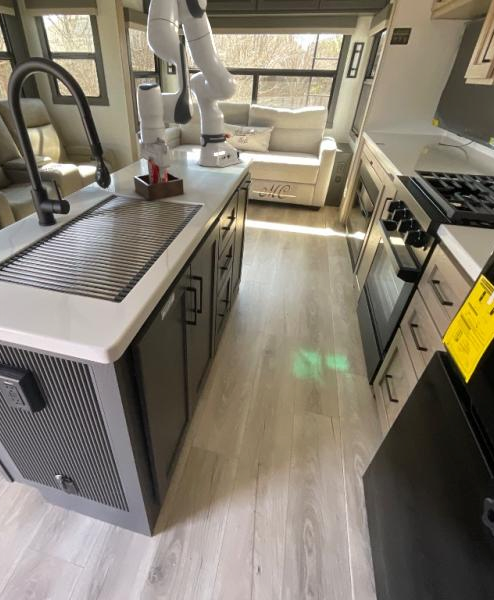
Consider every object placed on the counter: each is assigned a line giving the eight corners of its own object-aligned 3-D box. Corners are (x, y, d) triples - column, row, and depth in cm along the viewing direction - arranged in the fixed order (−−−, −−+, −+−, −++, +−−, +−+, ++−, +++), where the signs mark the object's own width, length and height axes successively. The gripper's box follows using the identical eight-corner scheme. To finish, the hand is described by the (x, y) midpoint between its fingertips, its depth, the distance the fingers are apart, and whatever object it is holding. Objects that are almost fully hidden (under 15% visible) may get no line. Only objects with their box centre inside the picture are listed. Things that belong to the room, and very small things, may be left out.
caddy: (168, 184, 139) (166, 171, 136) (183, 193, 129) (182, 179, 126) (135, 190, 133) (133, 176, 130) (149, 200, 123) (147, 185, 120)
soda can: (147, 188, 131) (143, 156, 124) (161, 185, 135) (158, 153, 128) (157, 192, 127) (153, 160, 120) (171, 188, 130) (169, 156, 123)
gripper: (173, 139, 113) (176, 180, 121) (150, 131, 128) (154, 168, 136) (157, 141, 111) (160, 183, 119) (135, 133, 125) (140, 170, 133)
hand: (157, 175), depth 127 cm, fingers closed on soda can, 7 cm apart
